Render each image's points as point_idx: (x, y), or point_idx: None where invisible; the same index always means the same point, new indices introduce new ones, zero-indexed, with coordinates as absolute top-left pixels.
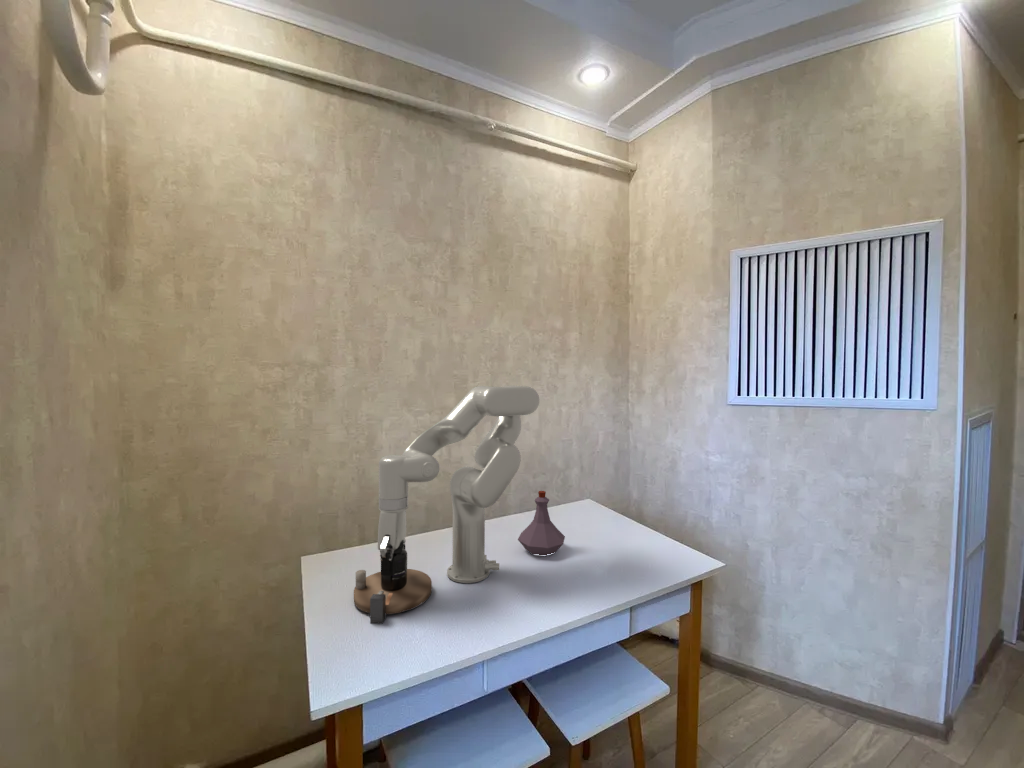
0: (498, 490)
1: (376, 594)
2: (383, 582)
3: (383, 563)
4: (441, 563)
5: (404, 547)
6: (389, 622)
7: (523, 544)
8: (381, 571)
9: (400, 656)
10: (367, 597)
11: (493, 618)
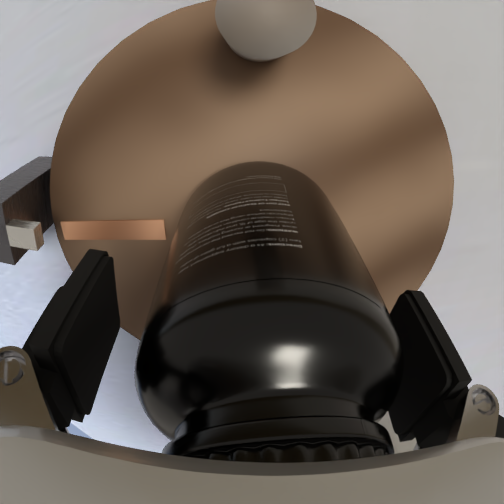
0: None
1: (3, 220)
2: (189, 204)
3: (26, 346)
4: (462, 335)
5: (395, 421)
6: (54, 225)
7: None
8: (78, 268)
9: None
10: (119, 110)
11: (134, 427)
